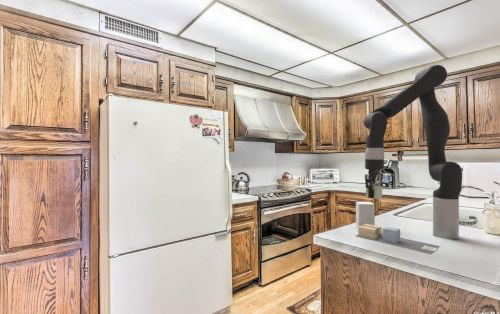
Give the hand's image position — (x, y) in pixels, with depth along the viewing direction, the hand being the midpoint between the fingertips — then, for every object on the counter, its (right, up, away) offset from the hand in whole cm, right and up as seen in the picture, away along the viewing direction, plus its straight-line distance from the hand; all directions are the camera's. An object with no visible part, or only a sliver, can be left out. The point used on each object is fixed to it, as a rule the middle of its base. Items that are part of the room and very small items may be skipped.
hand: (373, 197), depth 116 cm
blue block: (+5, -17, -5) cm, 19 cm away
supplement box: (+3, -18, +15) cm, 24 cm away
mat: (+6, -18, -5) cm, 20 cm away
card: (+14, -17, -15) cm, 27 cm away
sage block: (0, 0, 0) cm, 0 cm away
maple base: (-1, -17, +2) cm, 17 cm away
